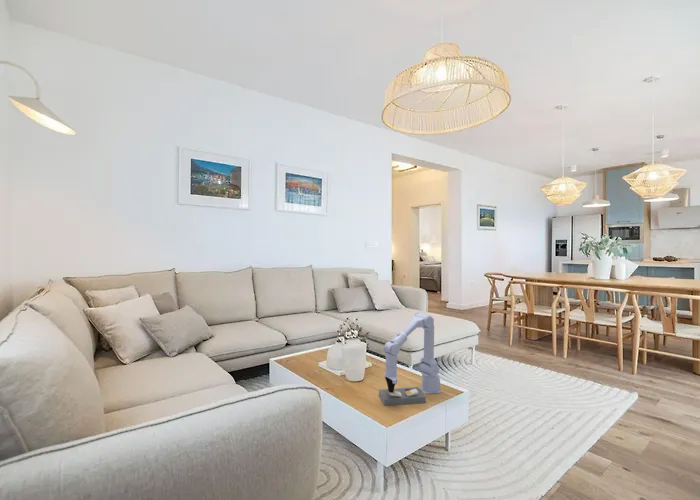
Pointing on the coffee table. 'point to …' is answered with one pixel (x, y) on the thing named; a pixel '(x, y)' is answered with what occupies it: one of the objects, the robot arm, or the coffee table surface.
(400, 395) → the rocker
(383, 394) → the grey switch panel
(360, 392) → the coffee table surface
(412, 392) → the rocker
